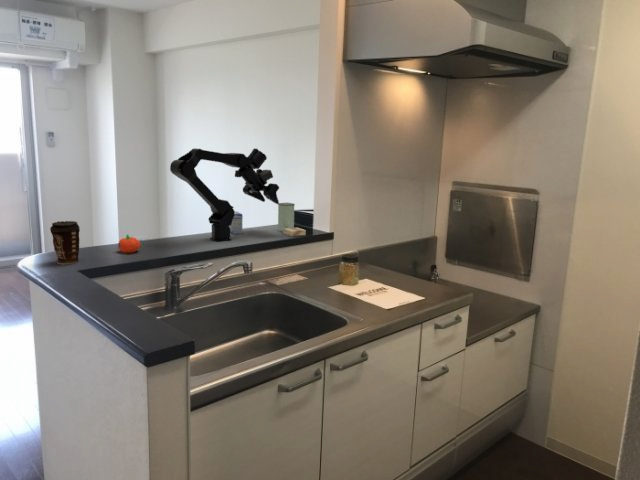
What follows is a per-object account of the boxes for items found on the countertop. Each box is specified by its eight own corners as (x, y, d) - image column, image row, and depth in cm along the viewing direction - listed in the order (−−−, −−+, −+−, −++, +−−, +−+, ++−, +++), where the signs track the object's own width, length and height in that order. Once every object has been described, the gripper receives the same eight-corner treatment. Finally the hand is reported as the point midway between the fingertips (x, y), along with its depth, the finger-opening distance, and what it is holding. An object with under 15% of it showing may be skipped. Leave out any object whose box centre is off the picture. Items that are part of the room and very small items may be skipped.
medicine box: (227, 230, 230) (227, 211, 228) (237, 230, 232) (237, 211, 230) (232, 234, 223) (232, 214, 221) (242, 233, 224) (242, 213, 223)
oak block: (291, 237, 222) (291, 231, 221) (283, 234, 227) (283, 228, 227) (305, 235, 226) (305, 230, 225) (297, 233, 231) (297, 227, 231)
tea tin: (285, 232, 231) (285, 204, 228) (277, 230, 234) (278, 203, 232) (294, 230, 234) (294, 203, 232) (286, 229, 238) (287, 202, 235)
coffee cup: (62, 258, 173) (59, 219, 171) (86, 259, 173) (84, 220, 171) (47, 264, 165) (44, 224, 162) (73, 265, 165) (71, 225, 162)
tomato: (126, 256, 181) (123, 239, 179) (115, 252, 186) (112, 235, 184) (145, 251, 185) (142, 234, 184) (134, 247, 191) (131, 230, 189)
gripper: (276, 164, 212) (295, 190, 222) (248, 162, 226) (268, 186, 235) (260, 184, 208) (281, 210, 218) (233, 180, 222) (253, 205, 231)
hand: (271, 202), depth 226 cm, fingers open, 9 cm apart
